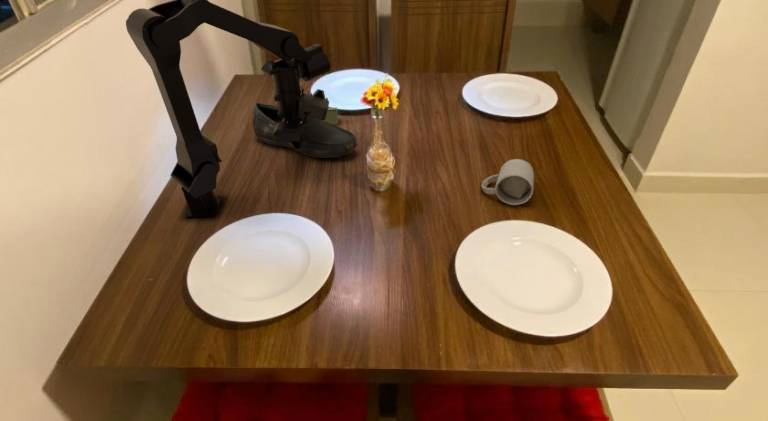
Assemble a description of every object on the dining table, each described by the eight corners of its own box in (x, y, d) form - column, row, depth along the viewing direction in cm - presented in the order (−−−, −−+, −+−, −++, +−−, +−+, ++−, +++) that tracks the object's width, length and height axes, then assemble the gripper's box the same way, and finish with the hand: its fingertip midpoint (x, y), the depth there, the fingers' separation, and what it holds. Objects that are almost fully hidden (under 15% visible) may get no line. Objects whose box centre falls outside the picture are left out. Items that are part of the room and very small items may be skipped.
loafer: (348, 167, 106) (345, 130, 100) (244, 147, 114) (235, 111, 107) (364, 145, 114) (362, 109, 107) (265, 128, 121) (258, 93, 114)
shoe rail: (337, 124, 122) (336, 109, 119) (272, 127, 121) (269, 112, 118) (338, 120, 124) (336, 105, 121) (273, 122, 123) (270, 107, 120)
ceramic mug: (531, 185, 99) (537, 157, 95) (529, 208, 94) (536, 178, 89) (483, 179, 102) (487, 150, 97) (478, 200, 96) (482, 171, 91)
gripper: (321, 105, 90) (329, 168, 100) (327, 69, 104) (333, 128, 114) (266, 107, 90) (280, 170, 100) (279, 71, 104) (290, 130, 114)
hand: (298, 148), depth 107 cm, fingers closed
